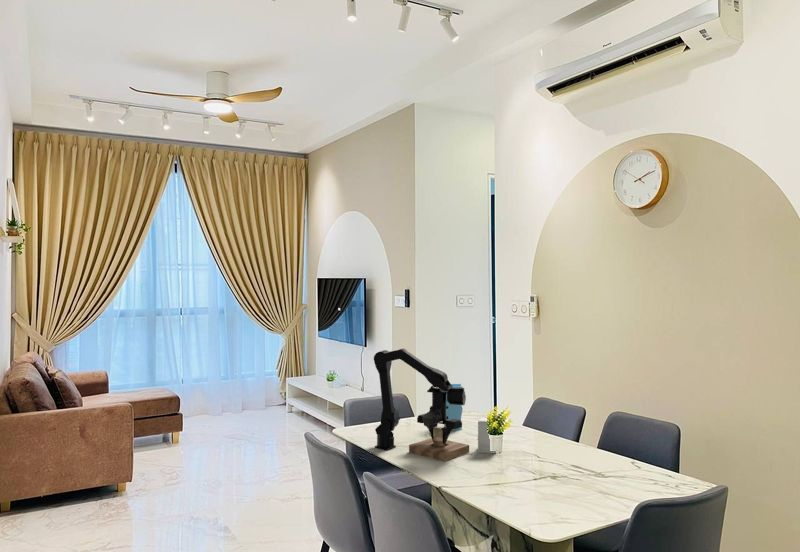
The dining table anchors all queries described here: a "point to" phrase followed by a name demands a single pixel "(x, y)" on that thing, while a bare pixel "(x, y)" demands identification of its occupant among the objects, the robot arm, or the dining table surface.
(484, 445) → the supplement box
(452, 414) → the vase
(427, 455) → the walnut board
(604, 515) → the dining table surface
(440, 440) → the beech peg
